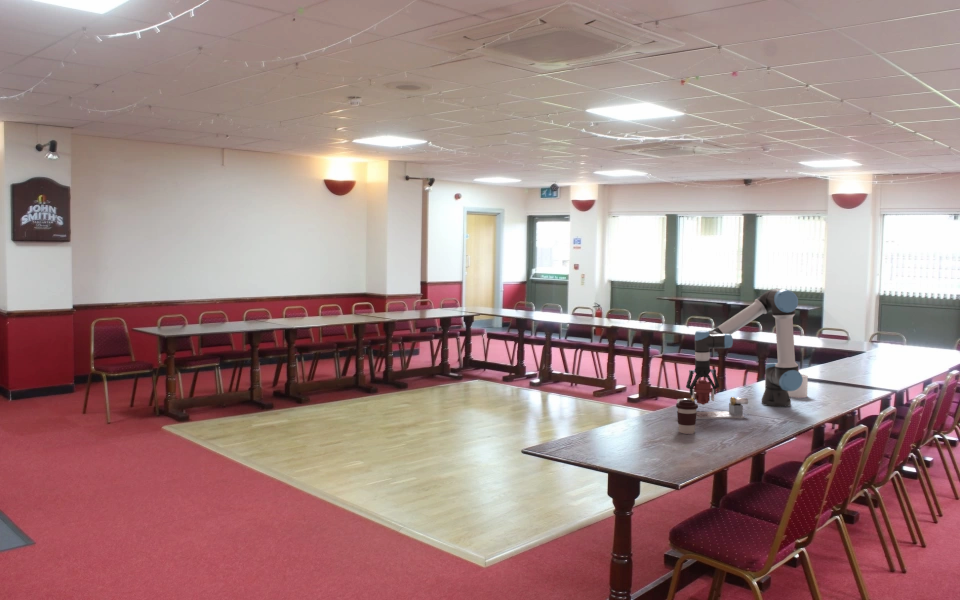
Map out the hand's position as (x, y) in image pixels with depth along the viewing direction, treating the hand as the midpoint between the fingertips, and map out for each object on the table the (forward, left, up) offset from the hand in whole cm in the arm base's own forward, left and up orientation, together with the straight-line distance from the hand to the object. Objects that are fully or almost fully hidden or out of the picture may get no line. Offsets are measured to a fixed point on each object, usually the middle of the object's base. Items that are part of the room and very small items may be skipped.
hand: (702, 401), depth 403 cm
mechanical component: (0, 0, -2) cm, 2 cm away
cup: (-67, -35, -5) cm, 76 cm away
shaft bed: (0, +14, -5) cm, 15 cm away
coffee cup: (+23, +47, -5) cm, 52 cm away
